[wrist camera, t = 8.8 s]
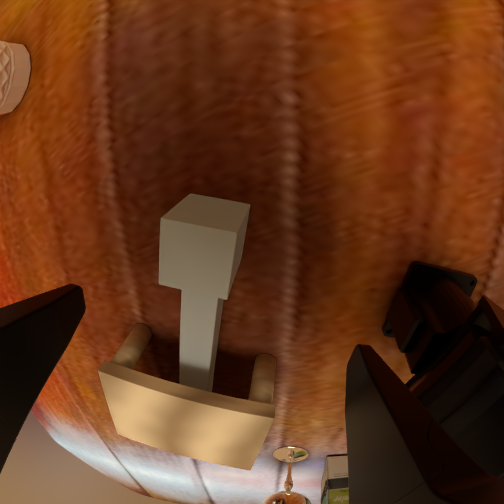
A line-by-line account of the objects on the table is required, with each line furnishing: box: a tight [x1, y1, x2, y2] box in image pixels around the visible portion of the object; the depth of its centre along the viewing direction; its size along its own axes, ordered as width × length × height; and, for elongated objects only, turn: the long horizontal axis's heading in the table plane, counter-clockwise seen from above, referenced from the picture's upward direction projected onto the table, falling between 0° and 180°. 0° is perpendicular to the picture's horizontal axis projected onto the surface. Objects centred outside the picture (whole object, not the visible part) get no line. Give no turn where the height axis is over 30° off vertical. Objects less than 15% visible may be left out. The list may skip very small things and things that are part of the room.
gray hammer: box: [159, 193, 251, 392], centre depth 22 cm, size 4×20×5 cm, turn 170°
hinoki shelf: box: [98, 323, 276, 470], centre depth 24 cm, size 13×10×6 cm
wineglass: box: [262, 447, 311, 504], centre depth 27 cm, size 6×6×12 cm
